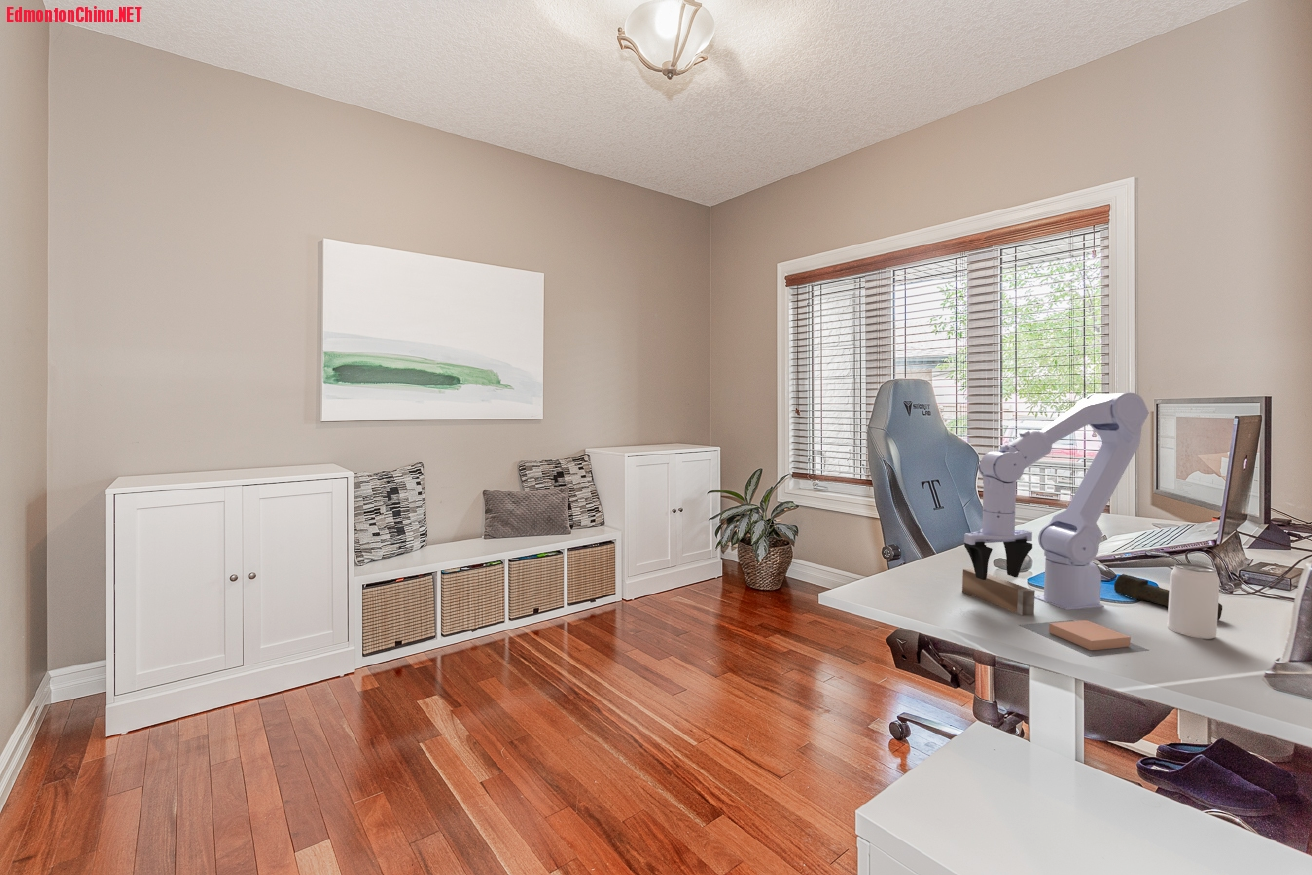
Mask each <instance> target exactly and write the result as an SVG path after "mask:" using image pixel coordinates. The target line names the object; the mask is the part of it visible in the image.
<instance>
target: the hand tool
mask: <svg viewBox="0 0 1312 875" xmlns="http://www.w3.org/2000/svg"><path fill="white" fill-rule="evenodd" d="M1113 590H1114V592H1116V593H1117V592H1118V594H1119V593H1121V594H1120V595H1122V594H1123V595H1122V596H1124V595H1127V596H1129V597H1128V598H1130V597H1132V598H1131V599H1133V598H1135V599H1134V600H1136V599H1138V600H1137V601H1147V602H1151V603H1155V604H1158V605H1161V606H1164V607H1168V608H1169V591H1170V589H1169V590H1168V589H1165V588H1162V587H1160V586H1159V587H1158V586H1156V585H1153V584H1149V580H1146V579H1144V578H1140V577H1137V576H1133V575H1128V574H1125V573H1123V574H1120V575H1118V576H1117V578H1116V579H1115V581H1114V584H1113ZM1127 596H1126V597H1127ZM1222 613H1223V605H1222V604H1221V603H1220V602H1218V615H1217V622H1218V621H1220V619H1221V617H1222Z"/></svg>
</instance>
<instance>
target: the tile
mask: <svg viewBox="0 0 1312 875" xmlns="http://www.w3.org/2000/svg"><path fill="white" fill-rule="evenodd" d="M1049 633H1052V634H1054V635H1056V636H1058V637H1061V638H1063V639H1065V640H1068V641H1070V642H1072V643H1075V644H1077V645H1079V646H1082V647H1084V648H1086V649H1089V650H1091V651H1092V650H1101V649H1111V648H1120V647H1130V643H1132V642H1131V639H1132V637H1131V636H1129V635H1127V634H1124V633H1122V632H1119V631H1116V630H1114V629H1112V628H1108V627H1105V626H1104V625H1100V624H1098V623H1095V622H1092V621H1090V620H1088V619H1083V620H1074V621H1069V622H1058V623H1049Z"/></svg>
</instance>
